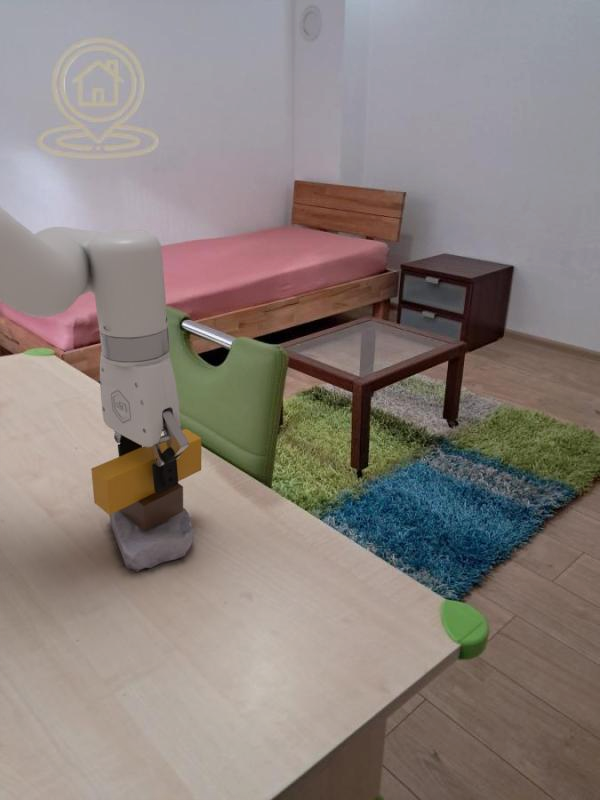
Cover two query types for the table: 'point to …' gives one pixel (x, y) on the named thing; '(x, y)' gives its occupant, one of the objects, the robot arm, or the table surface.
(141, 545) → the stone block
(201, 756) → the table surface
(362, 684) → the table surface
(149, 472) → the bar
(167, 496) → the walnut block
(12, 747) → the table surface
